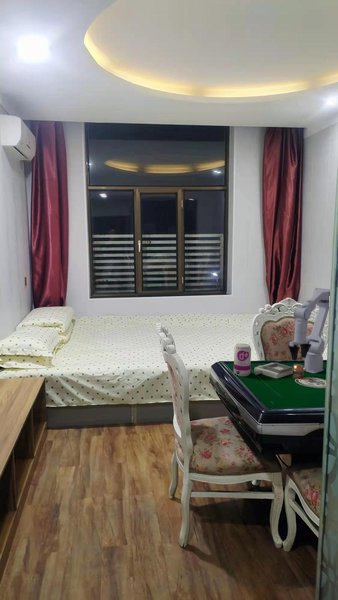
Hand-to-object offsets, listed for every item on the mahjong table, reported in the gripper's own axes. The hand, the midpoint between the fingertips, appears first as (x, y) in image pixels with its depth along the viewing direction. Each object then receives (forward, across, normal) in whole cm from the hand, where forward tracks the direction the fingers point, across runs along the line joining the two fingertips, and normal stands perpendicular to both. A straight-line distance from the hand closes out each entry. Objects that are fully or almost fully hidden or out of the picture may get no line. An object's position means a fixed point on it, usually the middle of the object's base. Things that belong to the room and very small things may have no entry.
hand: (298, 358), depth 209 cm
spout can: (+10, 0, 0) cm, 10 cm away
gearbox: (+10, -5, +12) cm, 16 cm away
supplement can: (+10, -19, +20) cm, 29 cm away
